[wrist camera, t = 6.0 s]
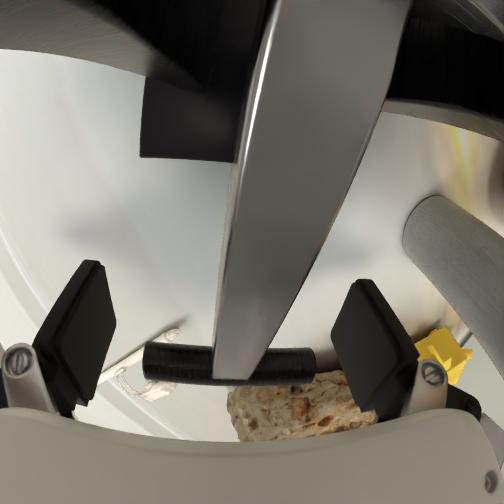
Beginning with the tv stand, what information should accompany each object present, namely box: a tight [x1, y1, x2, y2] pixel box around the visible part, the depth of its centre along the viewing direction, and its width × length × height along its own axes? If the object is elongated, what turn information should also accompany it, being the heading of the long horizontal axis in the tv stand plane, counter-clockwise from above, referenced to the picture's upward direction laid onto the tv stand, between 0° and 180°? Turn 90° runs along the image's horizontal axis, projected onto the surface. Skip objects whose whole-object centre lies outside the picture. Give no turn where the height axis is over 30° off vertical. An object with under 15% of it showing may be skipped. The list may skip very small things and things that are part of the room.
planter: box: [403, 196, 504, 379], centre depth 10 cm, size 4×4×10 cm
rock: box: [227, 370, 376, 442], centre depth 21 cm, size 21×14×10 cm
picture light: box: [97, 329, 180, 402], centre depth 17 cm, size 14×4×2 cm, turn 128°
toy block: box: [414, 326, 472, 386], centre depth 18 cm, size 8×8×6 cm
